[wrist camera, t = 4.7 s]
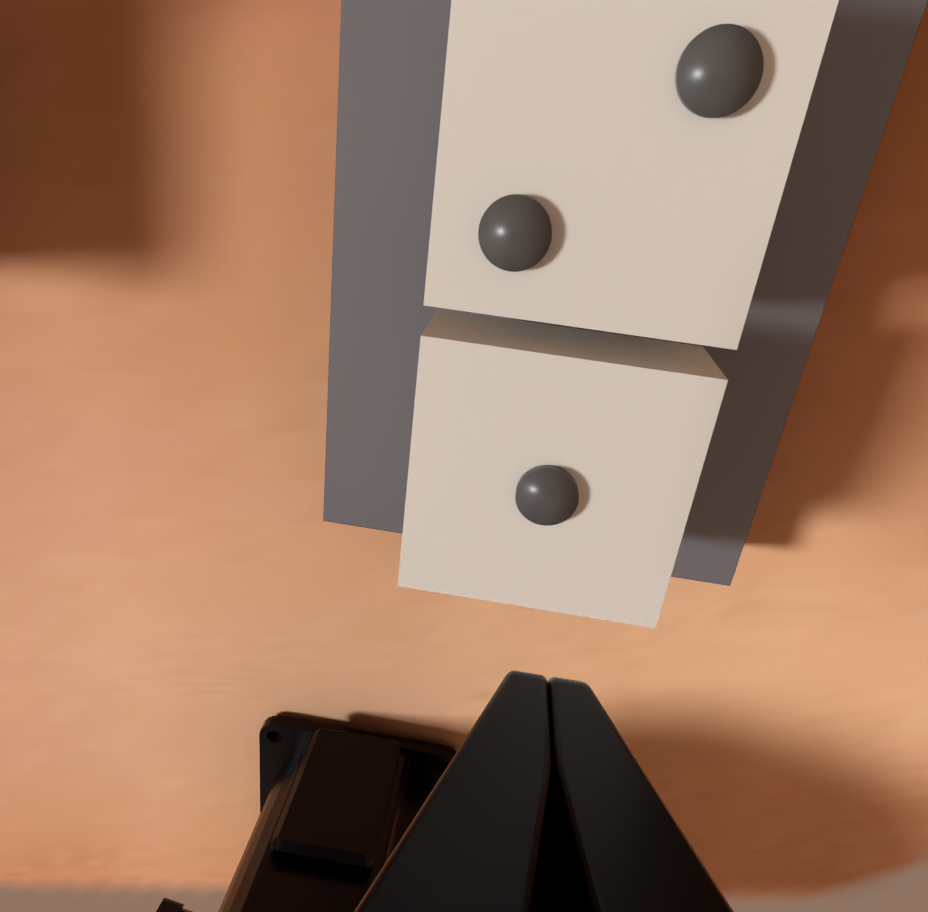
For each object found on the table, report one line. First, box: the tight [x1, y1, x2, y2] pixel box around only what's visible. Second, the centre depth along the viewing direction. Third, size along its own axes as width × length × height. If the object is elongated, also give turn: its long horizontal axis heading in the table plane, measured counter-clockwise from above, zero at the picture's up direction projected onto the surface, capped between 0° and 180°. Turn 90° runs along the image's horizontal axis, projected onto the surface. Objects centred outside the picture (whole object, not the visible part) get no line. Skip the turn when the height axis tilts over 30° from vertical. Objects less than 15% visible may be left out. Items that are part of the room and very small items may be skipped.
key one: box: [398, 309, 728, 628], centre depth 13 cm, size 5×5×2 cm
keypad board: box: [323, 0, 928, 586], centre depth 14 cm, size 18×10×2 cm, turn 173°
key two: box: [423, 0, 839, 350], centre depth 11 cm, size 5×5×2 cm
